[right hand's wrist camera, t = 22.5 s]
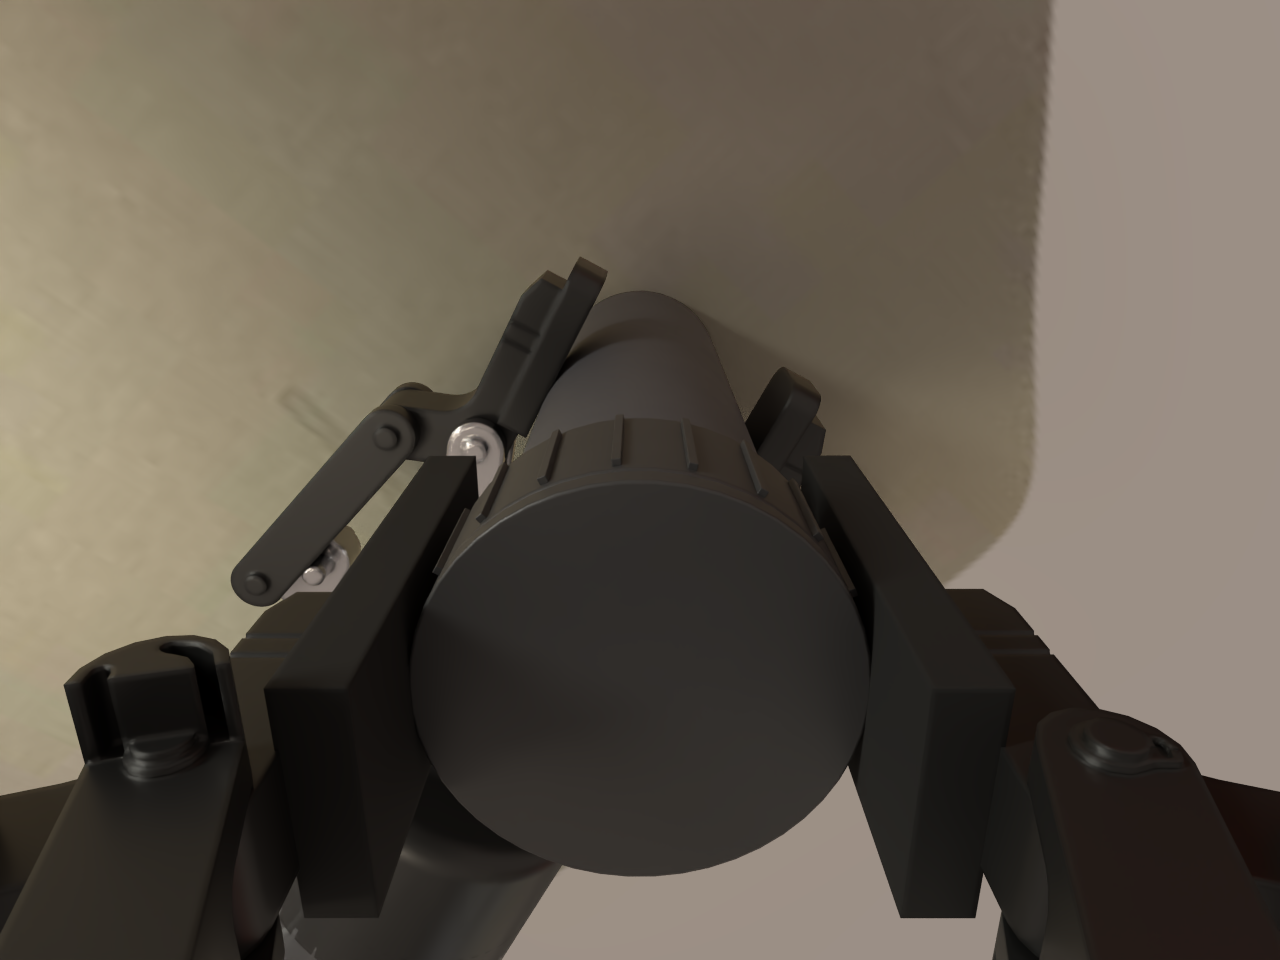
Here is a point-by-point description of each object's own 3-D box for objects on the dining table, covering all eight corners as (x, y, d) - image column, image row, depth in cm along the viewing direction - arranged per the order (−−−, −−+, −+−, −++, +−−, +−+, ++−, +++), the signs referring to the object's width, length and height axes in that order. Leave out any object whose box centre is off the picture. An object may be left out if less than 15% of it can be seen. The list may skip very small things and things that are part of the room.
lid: (450, 746, 13) (410, 870, 11) (443, 400, 11) (392, 461, 9) (807, 764, 13) (841, 891, 11) (859, 424, 11) (914, 491, 9)
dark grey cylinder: (622, 468, 27) (600, 851, 12) (532, 350, 25) (383, 614, 11) (745, 386, 26) (887, 689, 11) (658, 259, 25) (687, 408, 10)
